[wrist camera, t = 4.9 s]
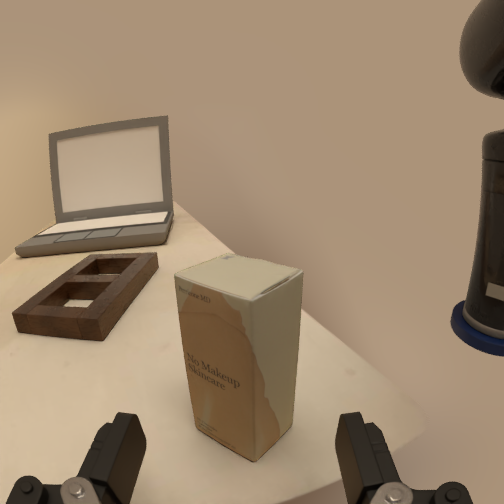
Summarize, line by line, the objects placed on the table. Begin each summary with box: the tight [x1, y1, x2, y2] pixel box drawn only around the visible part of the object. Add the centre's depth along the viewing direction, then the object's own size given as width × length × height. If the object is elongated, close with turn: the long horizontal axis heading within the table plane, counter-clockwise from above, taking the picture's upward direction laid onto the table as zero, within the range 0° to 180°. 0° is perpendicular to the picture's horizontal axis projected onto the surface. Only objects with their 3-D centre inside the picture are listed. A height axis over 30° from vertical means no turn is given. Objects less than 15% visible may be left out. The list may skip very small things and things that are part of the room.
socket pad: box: [12, 252, 159, 341], centre depth 39 cm, size 12×22×2 cm, turn 0°
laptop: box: [15, 116, 174, 258], centre depth 68 cm, size 35×26×28 cm
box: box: [174, 253, 303, 462], centre depth 17 cm, size 5×4×11 cm
